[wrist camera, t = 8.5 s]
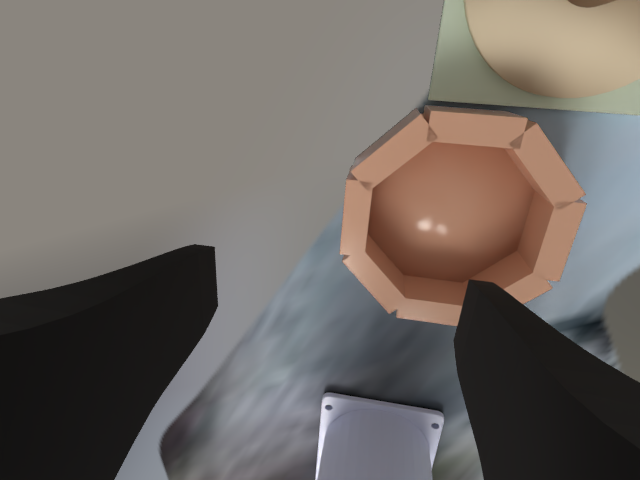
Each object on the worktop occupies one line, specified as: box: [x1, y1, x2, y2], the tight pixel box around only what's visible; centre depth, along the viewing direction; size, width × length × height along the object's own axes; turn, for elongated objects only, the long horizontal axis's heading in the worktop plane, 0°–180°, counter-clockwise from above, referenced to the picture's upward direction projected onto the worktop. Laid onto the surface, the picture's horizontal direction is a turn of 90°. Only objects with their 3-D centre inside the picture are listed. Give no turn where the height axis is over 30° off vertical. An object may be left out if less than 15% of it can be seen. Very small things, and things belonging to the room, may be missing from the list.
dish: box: [340, 105, 587, 326], centre depth 19 cm, size 10×10×3 cm
